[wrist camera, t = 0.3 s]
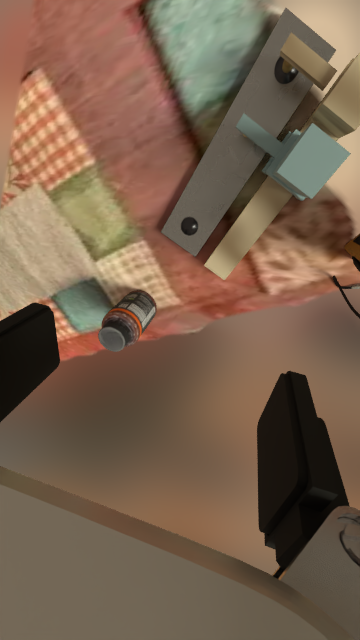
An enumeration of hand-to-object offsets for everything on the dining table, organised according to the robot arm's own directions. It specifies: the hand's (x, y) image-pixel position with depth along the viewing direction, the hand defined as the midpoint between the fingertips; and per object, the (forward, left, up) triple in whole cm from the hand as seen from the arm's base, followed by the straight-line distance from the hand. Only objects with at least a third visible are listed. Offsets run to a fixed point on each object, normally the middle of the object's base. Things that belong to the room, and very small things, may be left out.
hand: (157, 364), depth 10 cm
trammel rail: (-7, -1, -29) cm, 30 cm away
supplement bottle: (+18, -5, -29) cm, 35 cm away
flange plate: (-7, -5, -29) cm, 30 cm away
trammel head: (-10, 0, -29) cm, 30 cm away
